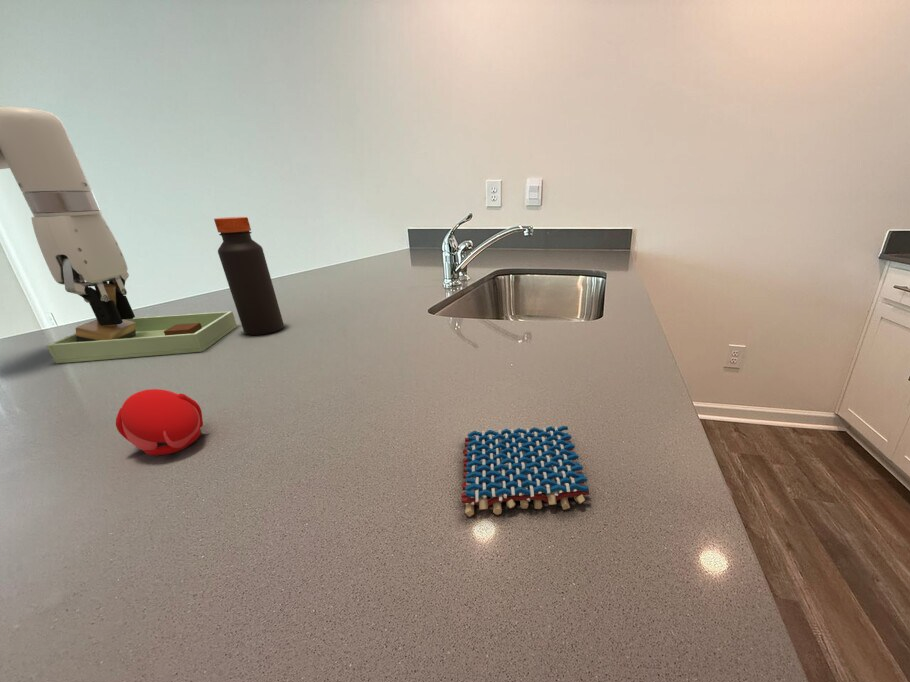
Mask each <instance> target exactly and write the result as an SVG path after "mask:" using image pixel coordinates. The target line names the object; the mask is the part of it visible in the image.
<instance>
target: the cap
mask: <svg viewBox="0 0 910 682" xmlns="http://www.w3.org/2000/svg"><path fill="white" fill-rule="evenodd" d="M203 426H204V420H203V412H202V409H201V407H200V404H199V403H198V402H197V401H196V400H194V399H193V398H191V397H189V396H188V395H186V394H185V393H177V392H173V391H171V390H166V389H161V388H150V389H143V390H140V391H137V392H135V393H132V395H130V396H128V398H126V400H124V402H123V404H122V406H121V407H120V408H119V410H118V413H117V414H116V417H115V427H116V430H117V431H118V433H119V434H120V435H121V436H122V437H123V438H124V439H125V440H127V441H128V442H130V443H131V444H132V445H133V446H135V447H136V448H137V449H139V450H141V451H143V452H144V453H145V454H146V455H149V456H164V455H169V454H173V453H176V452H180V451H182V450H184V449H185V448H187V447H188V446H190V445H191V444H193V443H194V442H195V441H197V440H198V439H199V437H200V436H201V433H202V432H201V431H202V430H201V428H202V427H203ZM158 443H159V444H160V443H162V444H165V443H166V444H167V445H162V446H158Z"/></svg>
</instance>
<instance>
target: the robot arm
mask: <svg viewBox="0 0 910 682" xmlns="http://www.w3.org/2000/svg"><path fill="white" fill-rule="evenodd" d="M7 169H9V170H10V172H11V174H12V176H13V178H14V179H15V182H16V185H18V187H19V190H20V192H21V193H22V196H23V197H24V199H25V201H26V203H27V207H28V208H29V210H30V212H31V214H32V216H31V217H30V218H31V224H32V227H33V231H34V234H35V238H36V241H37V243H38V246H39V250H40V252H41V255H42V256H43V259H44V261H45V263H46V265H47V268H48V270H49V272H50V274H51V276H52V278H53V279H54V281H55V282H56V283H57V284H59V285H63V286H64V289H65V292H67V293H69V294H75V295H78V296H80V297H81V298H83V300H84V302H85V303H87V304H89V305H90V308H91V310H92V312H93V315H94V316H95V319H97V320H98V322H99V324H100V325H117V324H121V323H123V321H122V320H123V319H133V318H136V315H135V313H134V311H133V309H132V306H131V304H130V302H129V299H128V297H127V294H128V291H127V289H126V287H125V286H126V281H127V280H128V279H129V276H130V274H129V272H128V269H129V268H128V265H127V261H126V259H125V256H124V254H123V252H122V250H121V247H120V246H119V243H118V242H117V240H116V237H115V235H114V233H113V232H112V230H111V228H110V227H109V225H108V223H107V221H106V219H105V218H104V217H103V215H102V214H103V213H102V211H101V209H100V206H99V204H98V201H97V199H96V197H95V195H94V192H93V190H92V187H91V185H90V183H89V180H88V178H87V176H86V173H85V171H84V169H83V166H82V164H81V162H80V159H79V156H78V155H77V152H76V150H75V148H74V145H73V143H72V141H71V138H70V136H69V134H68V131H67V129H66V127H65V125H64V122H62V119H60V118H59V117H58V116H57V115H56V114H55V113H54V114H53V113H52V112H51V111H47V110H44V109H40V108H39V109H38V108H31V107H24V106H23V107H22V106H0V170H7ZM103 283H107V284H112V285H114V286H115V287H116V305H115V303H114V301H113V300H109V297H108V295H107V292H106V290H105V288H104V285H103ZM93 287H94V288H93ZM95 289H96V290H95Z"/></svg>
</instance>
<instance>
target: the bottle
mask: <svg viewBox="0 0 910 682" xmlns="http://www.w3.org/2000/svg"><path fill="white" fill-rule="evenodd" d="M213 220H214V224H215V227H216V230H217V233H219V234H218V235H219V236H220V237H221V238H222V239H221V240H222V243H221V244H220V245H219V247H218V249H217V254H218V257H219V260H220V263H221V266H222V269H223V272H224V275H225V278H226V282H227V284H228V287H229V290H230V293H231V297H232V299H233V302H234V306H235V310H236V312H237V315H238V317H239V321H240V324H241V327H242V331H243V332H244V333H245V335H249V336H262V335H263V336H264V335H269V334H273V333H277V332H279V331H282V329H284V327H285V323H284V319H283V317H282V312H281V309H280V306H279V302H278V298H277V296H276V292H275V289H274V285H273V284H274V283H273V281H272V277H271V274H270V270H269V267H268V263H267V259H266V256H265V253H264V248H263V246H262V245H261V244H259V243H258V242H256V241H255V240H254V239H253V238H252V235H251V234H252V228H251V224H250V222H249V221H250V220H249V218H248V216H232V217H217V218H214V219H213Z"/></svg>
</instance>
